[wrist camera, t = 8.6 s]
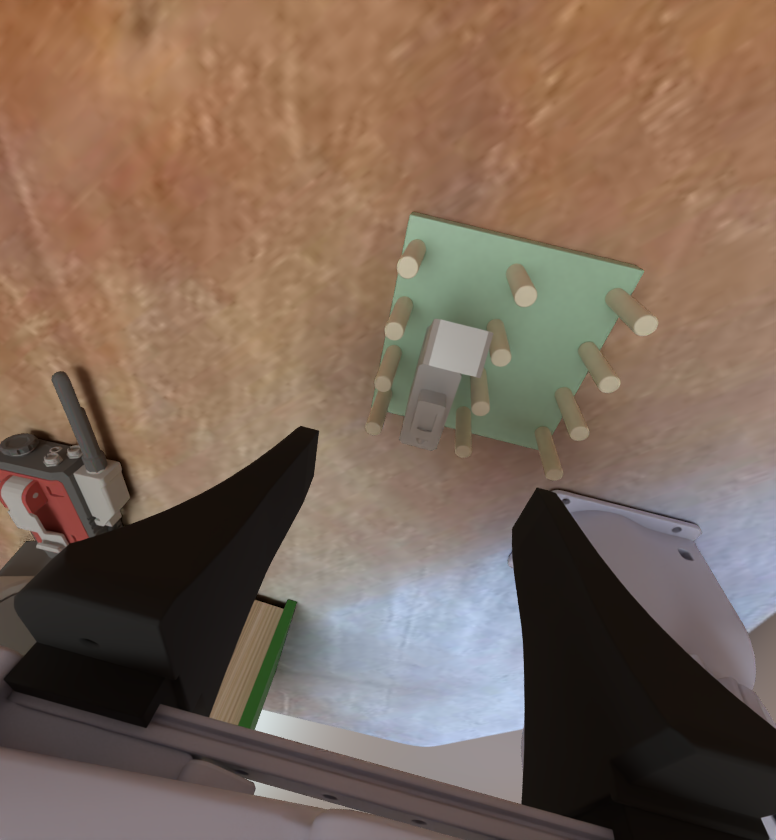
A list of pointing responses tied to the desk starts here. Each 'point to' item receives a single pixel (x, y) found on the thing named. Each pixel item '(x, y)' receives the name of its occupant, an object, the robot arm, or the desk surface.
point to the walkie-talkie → (61, 482)
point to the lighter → (441, 378)
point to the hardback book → (253, 665)
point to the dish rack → (507, 330)
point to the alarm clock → (4, 584)
